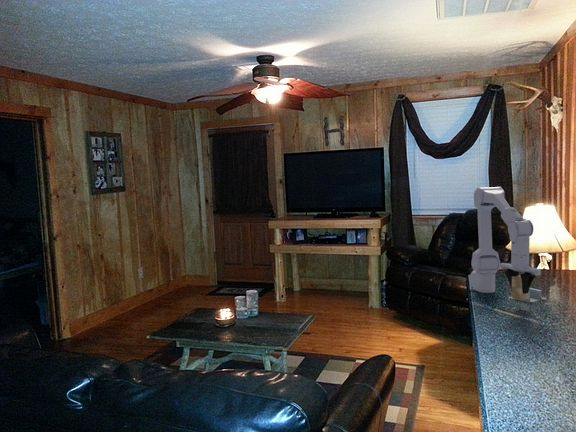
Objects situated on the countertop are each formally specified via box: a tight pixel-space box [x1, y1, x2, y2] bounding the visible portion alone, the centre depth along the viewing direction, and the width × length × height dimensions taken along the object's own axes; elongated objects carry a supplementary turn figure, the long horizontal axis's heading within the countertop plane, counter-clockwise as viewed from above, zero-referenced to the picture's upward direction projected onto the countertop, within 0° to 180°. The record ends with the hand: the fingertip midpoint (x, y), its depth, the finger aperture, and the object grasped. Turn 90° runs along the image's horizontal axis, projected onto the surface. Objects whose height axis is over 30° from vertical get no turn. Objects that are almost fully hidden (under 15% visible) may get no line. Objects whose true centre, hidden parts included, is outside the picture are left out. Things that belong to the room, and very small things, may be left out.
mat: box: [493, 308, 526, 319], centre depth 163 cm, size 10×14×1 cm
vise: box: [507, 287, 548, 304], centre depth 175 cm, size 9×11×4 cm
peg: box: [510, 274, 529, 302], centre depth 162 cm, size 4×4×8 cm
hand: (519, 291), depth 162 cm, fingers closed on peg, 4 cm apart
